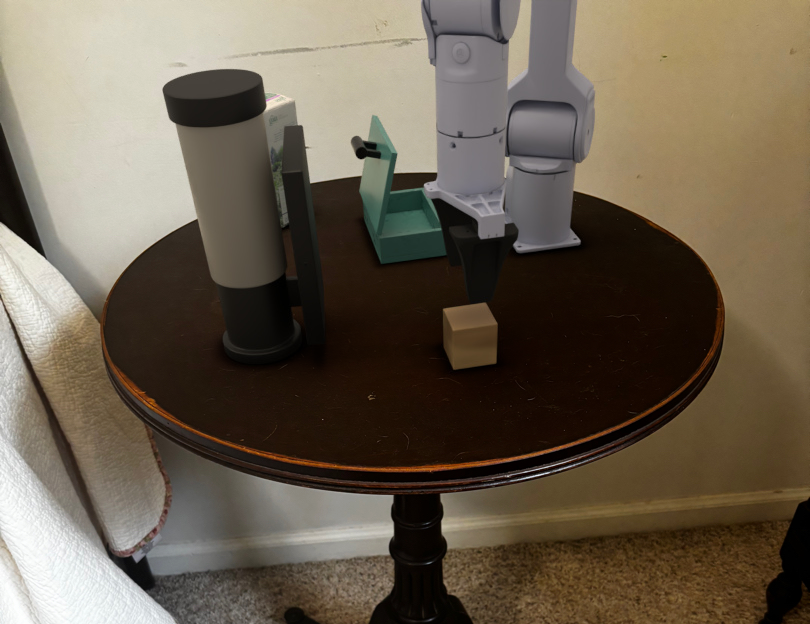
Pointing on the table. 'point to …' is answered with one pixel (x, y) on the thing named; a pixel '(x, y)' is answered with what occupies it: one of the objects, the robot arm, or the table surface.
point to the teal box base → (408, 228)
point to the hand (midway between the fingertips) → (469, 282)
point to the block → (470, 336)
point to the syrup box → (278, 141)
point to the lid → (376, 171)
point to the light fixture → (249, 213)
